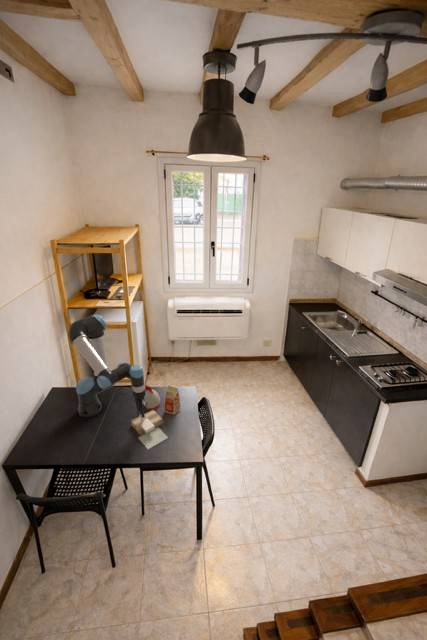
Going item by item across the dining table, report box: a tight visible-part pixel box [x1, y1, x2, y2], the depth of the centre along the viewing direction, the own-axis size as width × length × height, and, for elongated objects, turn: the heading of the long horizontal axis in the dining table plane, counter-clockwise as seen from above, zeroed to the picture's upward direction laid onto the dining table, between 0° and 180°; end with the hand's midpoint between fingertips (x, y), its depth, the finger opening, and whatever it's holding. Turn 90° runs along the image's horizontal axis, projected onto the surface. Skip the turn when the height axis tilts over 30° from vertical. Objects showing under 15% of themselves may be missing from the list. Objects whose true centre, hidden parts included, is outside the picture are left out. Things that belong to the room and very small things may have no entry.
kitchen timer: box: [144, 384, 161, 411], centre depth 217 cm, size 14×14×15 cm
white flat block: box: [139, 418, 155, 434], centre depth 193 cm, size 9×6×2 cm, turn 40°
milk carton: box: [163, 384, 181, 415], centre depth 211 cm, size 9×9×20 cm
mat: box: [137, 426, 169, 450], centre depth 191 cm, size 12×14×1 cm
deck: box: [130, 409, 164, 437], centre depth 200 cm, size 12×16×4 cm
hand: (142, 420), depth 197 cm, fingers closed
